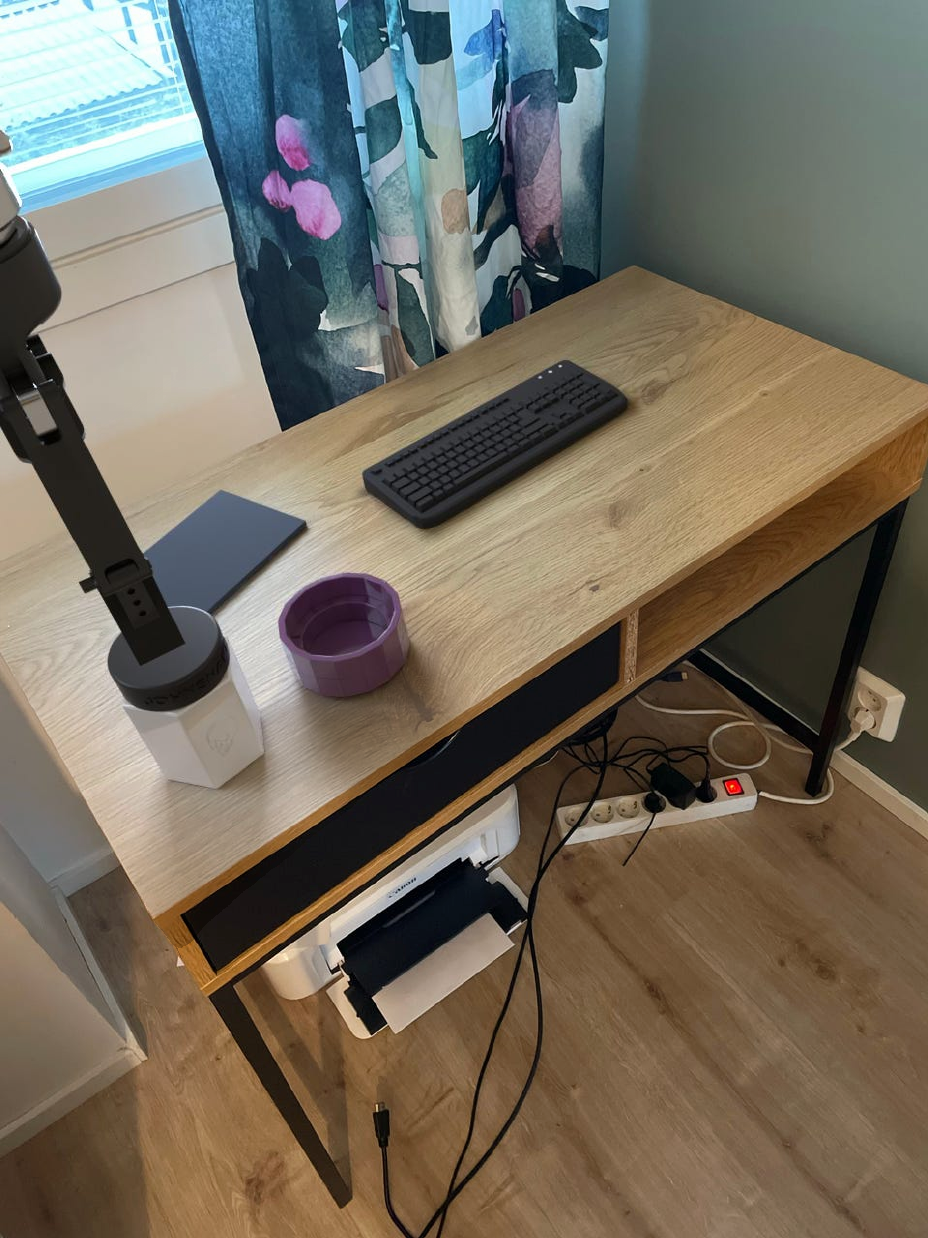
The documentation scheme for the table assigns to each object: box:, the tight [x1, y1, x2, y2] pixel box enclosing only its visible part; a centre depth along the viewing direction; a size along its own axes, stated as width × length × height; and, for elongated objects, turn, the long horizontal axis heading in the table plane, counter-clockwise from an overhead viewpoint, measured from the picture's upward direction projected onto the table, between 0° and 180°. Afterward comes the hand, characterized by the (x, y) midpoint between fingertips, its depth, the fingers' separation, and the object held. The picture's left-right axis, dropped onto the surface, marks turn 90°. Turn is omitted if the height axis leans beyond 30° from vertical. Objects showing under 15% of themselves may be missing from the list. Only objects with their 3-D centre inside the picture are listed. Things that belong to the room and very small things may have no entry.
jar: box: [106, 606, 265, 790], centre depth 68 cm, size 9×8×12 cm
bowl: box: [277, 571, 411, 698], centre depth 76 cm, size 10×10×5 cm
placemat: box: [142, 489, 308, 615], centre depth 89 cm, size 16×12×1 cm
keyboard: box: [361, 359, 629, 530], centre depth 96 cm, size 30×11×2 cm, turn 130°
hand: (124, 586), depth 55 cm, fingers open, 13 cm apart
